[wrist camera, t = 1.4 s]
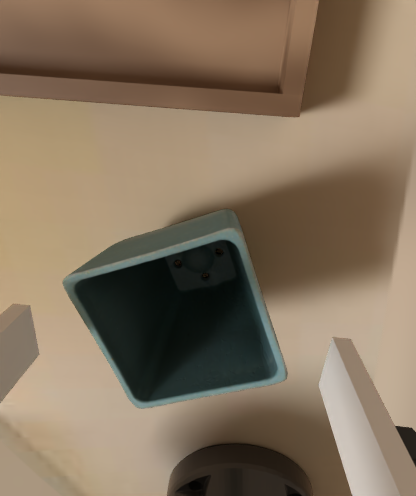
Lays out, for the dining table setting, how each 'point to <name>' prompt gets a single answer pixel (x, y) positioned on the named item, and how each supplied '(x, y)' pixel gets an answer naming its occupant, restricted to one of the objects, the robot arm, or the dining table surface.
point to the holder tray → (160, 52)
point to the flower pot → (180, 313)
